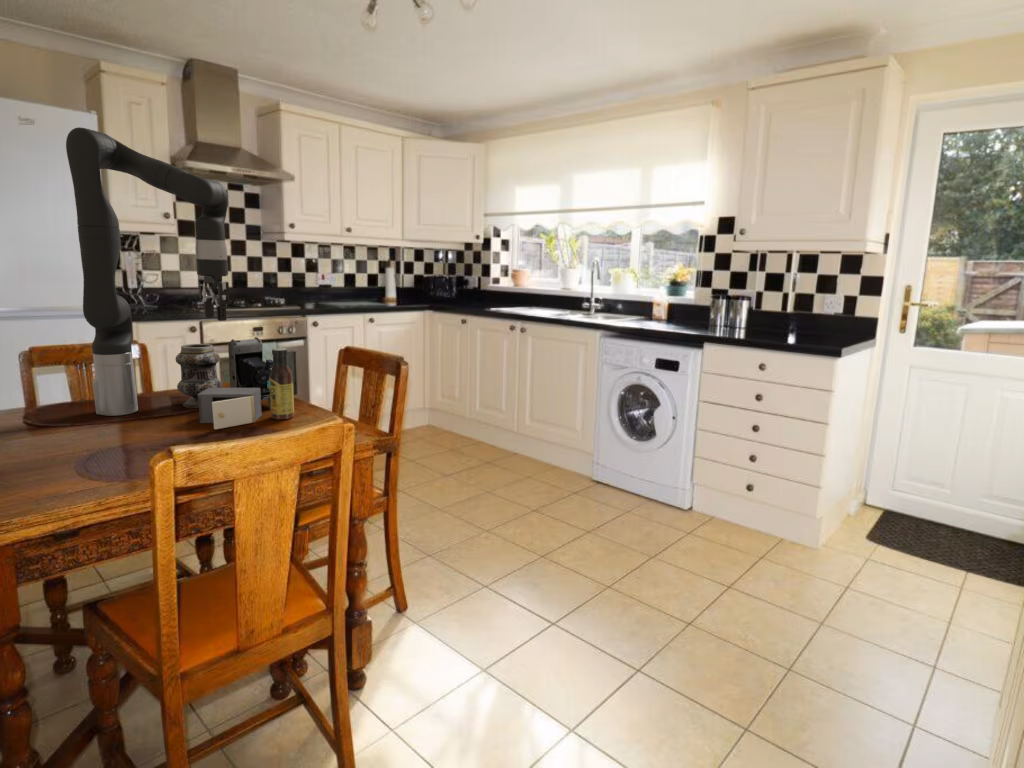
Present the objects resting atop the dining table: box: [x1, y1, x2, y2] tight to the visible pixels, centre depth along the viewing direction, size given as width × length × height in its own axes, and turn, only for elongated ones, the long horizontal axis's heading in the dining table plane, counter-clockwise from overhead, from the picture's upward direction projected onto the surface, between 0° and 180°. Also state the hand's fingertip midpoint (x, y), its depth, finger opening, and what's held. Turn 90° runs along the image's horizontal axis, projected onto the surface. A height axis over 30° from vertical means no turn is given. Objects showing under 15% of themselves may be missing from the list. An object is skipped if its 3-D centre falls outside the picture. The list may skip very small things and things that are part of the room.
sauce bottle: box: [268, 347, 295, 421], centre depth 170 cm, size 7×6×20 cm
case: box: [198, 387, 263, 424], centre depth 169 cm, size 14×8×8 cm, turn 97°
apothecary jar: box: [175, 343, 223, 409], centre depth 183 cm, size 12×12×18 cm
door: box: [212, 396, 256, 430], centre depth 161 cm, size 11×2×7 cm, turn 137°
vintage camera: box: [228, 336, 273, 410], centre depth 183 cm, size 10×16×20 cm, turn 53°
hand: (215, 319), depth 165 cm, fingers open, 7 cm apart
